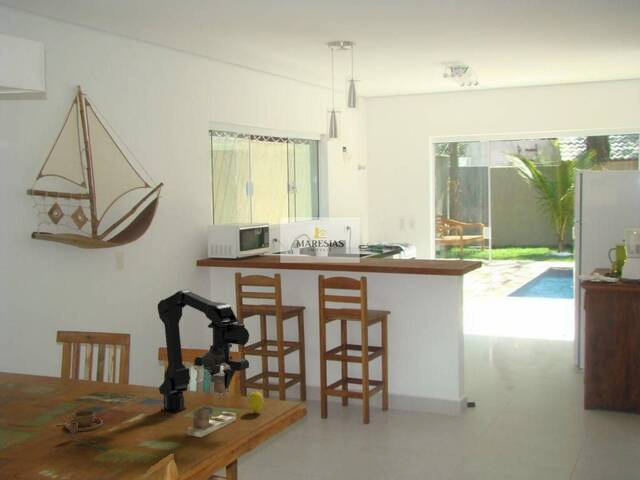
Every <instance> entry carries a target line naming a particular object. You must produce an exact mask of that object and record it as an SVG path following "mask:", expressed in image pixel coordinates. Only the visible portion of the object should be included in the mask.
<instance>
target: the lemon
mask: <svg viewBox="0 0 640 480" xmlns="http://www.w3.org/2000/svg"><path fill="white" fill-rule="evenodd" d="M264 401H265V400H264V396H263V394H262V393H261V392H260V391H258V390H254V391H252V392H251V393H250V394H249V395H248V398H247V407H248V409H250V411H252V412H253V413H254V414H257V413H258V412H259V411H261V410H262V409H263V407H264Z"/></svg>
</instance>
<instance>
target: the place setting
mask: <svg viewBox="0 0 640 480" xmlns="http://www.w3.org/2000/svg"><path fill="white" fill-rule="evenodd" d="M95 414H96V413H95V411H93V410H79V411H76V412H73V413H72V419H70V420H68V421H66V422H61V423H58V424H57V426H58V427H61V426H65V429H66V430H68V431H69V432H70V433H71V434H72V435H71V438H72V439H71V441H73V442H75V441H76V433H78V432H89V431H94V430H97V429H99V428H101V427H102V425H103V423H104V421H103V419H101V418H98V417H96V415H95ZM93 423H98V424H97V425H93ZM91 425H93V426H91ZM92 435H95V434H93V433H92Z"/></svg>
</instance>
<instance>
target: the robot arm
mask: <svg viewBox="0 0 640 480" xmlns="http://www.w3.org/2000/svg"><path fill="white" fill-rule="evenodd" d="M186 306H188V307H191V308H193V309H195V310H197V311H199V312H201V313H202V314H204V315H205V317H206V318H207V319H208V320H210V323H209V324H208V325H207V328H208V329H211V330H212V345H210V347H209V351H208V352H207V353H205V354H202V355H201V354H200V355H198V356H196V357H195V358H194V361H193V362H194V363H193V365H194V366H196V367H202V366H203V369H204V370H206V371H207V372H208V373H209V374H210V377H211V376H212V375H215V374H217V373H221V366H223V367H225V368H224V369H222V373H225V389H227V388H228V387H229V388H230V384H231V382H232V380H233V377H234V375H235V374H236V372H238V371H239V372H240V371H245V370H246V369H249V368H250V362H249V360H248V359H246V358H237V359H233V356H232V355H231V348H232V347H233V345H236V346H237V345H238V346H245V345H246V344H247V343H248V342H249V340H250V333H249V330H248V329H247V328H246V327H245V325H246V324H244V323H241V324H240V322H239V319H238V318H237V316H236V314H235V313H234V310H233V308H232V306H231V305H230V304H228V303H225V302H220V301H217V302H216V301H212V300H209V299H208V298H205V297H203V296H200V295H199V294H196V293H194V292H192V291H191V290H189V289H184V290H179V291H177V292H175V293H174V294H172V295H170V296H168V297H165V298H164V299H161V300H160V301H158V304H157V312H158V316H159V319H160V320H161V322H162V323H163V324H164V333H165V343H166V354H167V368H166V370H165V373H164V381H163V382H162V383H161V385H160V386H159V387H158V390H159V394H161V395H163V407H162V408H160V411H163V412H164V411H165V412H168V413H169V412H170V413H177V412H180V411H183V410H186V409H187V407H186V406H185V397H184V392H187V391H188V387H189V385H190V380H192V378H191V375H190V368H189V367H186V366H185V364H184V362H183V354H182V353H183V352H182V344H181V343H182V342H181V333H180V321H181V319H182V316H183V309H184V308H185V307H186Z"/></svg>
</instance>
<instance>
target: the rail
mask: <svg viewBox="0 0 640 480" xmlns="http://www.w3.org/2000/svg"><path fill="white" fill-rule="evenodd" d="M210 415H211V417H210ZM212 415H213V407H208V406H201V407H198V408H196V409H194V410H193V411H192V418H193V419H192V424H193V427H191V426H190V427H188V428H187V435H188V436H192V437H198V438H202V437H203V438H204V436H206V435H209V434H211V433H213V432H215V431H217V430H219V429H221V428H223V427H225V426H227V425H229V424H231V423H233V422H235V421H237V414H236V413H235V412H229V411H228V412H227V411H222V412H221V414H220V415H218V416H212ZM210 418H211V419H210Z"/></svg>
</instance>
